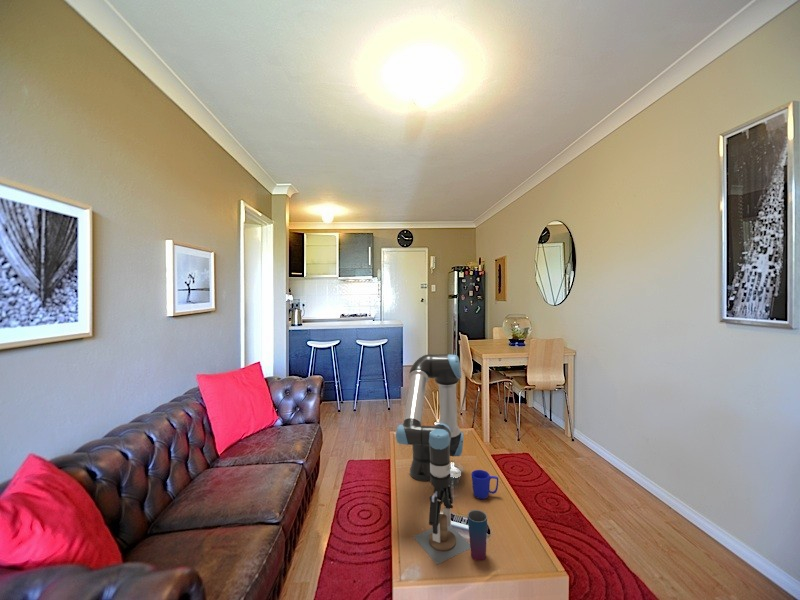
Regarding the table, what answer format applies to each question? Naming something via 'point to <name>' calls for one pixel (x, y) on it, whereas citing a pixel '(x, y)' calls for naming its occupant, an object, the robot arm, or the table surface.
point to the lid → (443, 536)
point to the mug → (482, 483)
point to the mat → (442, 555)
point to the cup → (477, 534)
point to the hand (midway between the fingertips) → (442, 532)
